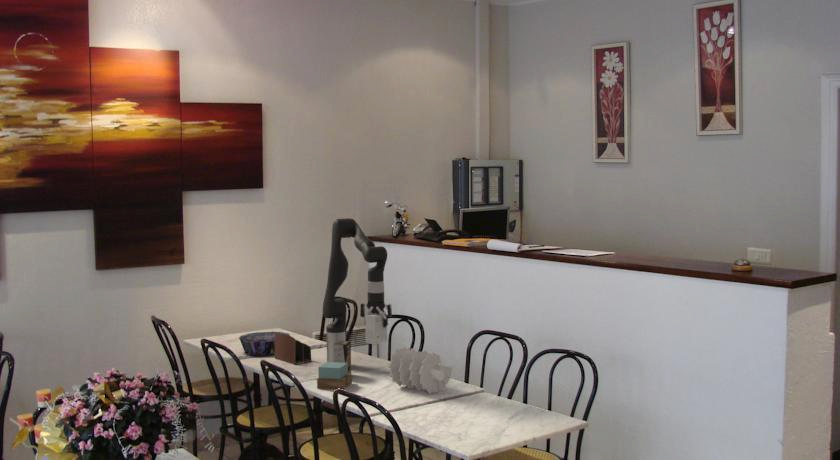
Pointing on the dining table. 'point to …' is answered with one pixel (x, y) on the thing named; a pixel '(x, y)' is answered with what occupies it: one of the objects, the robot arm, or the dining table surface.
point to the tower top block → (333, 370)
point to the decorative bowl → (259, 342)
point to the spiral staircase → (419, 370)
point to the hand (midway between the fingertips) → (376, 326)
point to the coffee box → (342, 353)
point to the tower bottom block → (334, 382)
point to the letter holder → (291, 350)
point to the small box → (375, 329)
